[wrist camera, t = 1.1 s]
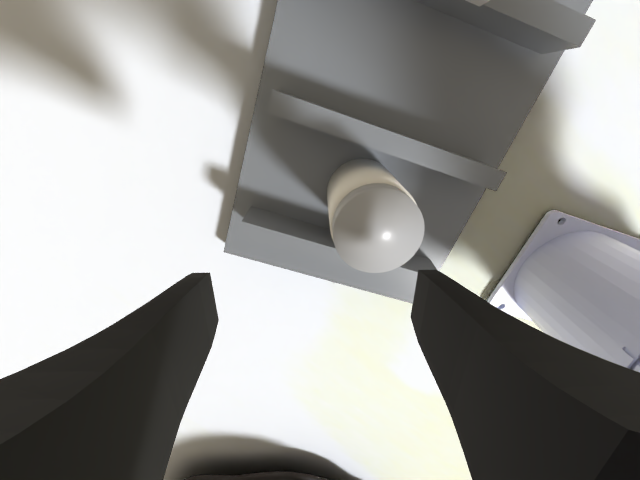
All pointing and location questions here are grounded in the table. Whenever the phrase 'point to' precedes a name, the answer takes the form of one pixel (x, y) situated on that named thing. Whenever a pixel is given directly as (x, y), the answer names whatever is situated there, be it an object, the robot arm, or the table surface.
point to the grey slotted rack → (390, 118)
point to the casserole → (259, 476)
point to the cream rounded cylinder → (372, 217)
